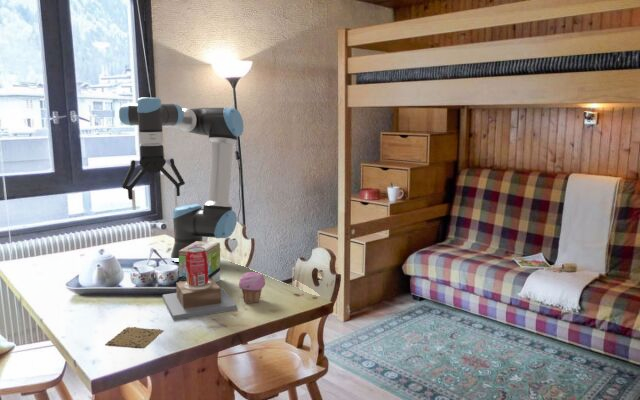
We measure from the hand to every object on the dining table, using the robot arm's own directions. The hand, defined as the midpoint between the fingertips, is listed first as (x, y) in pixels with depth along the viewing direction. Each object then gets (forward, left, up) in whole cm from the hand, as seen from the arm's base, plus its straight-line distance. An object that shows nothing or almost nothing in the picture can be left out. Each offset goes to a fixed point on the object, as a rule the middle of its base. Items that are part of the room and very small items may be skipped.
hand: (155, 207), depth 182 cm
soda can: (+16, +10, -24) cm, 31 cm away
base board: (+16, +10, -31) cm, 36 cm away
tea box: (-3, +15, -31) cm, 35 cm away
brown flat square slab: (+34, -12, -31) cm, 48 cm away
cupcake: (+21, +27, -31) cm, 46 cm away
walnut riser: (+16, +10, -29) cm, 35 cm away
